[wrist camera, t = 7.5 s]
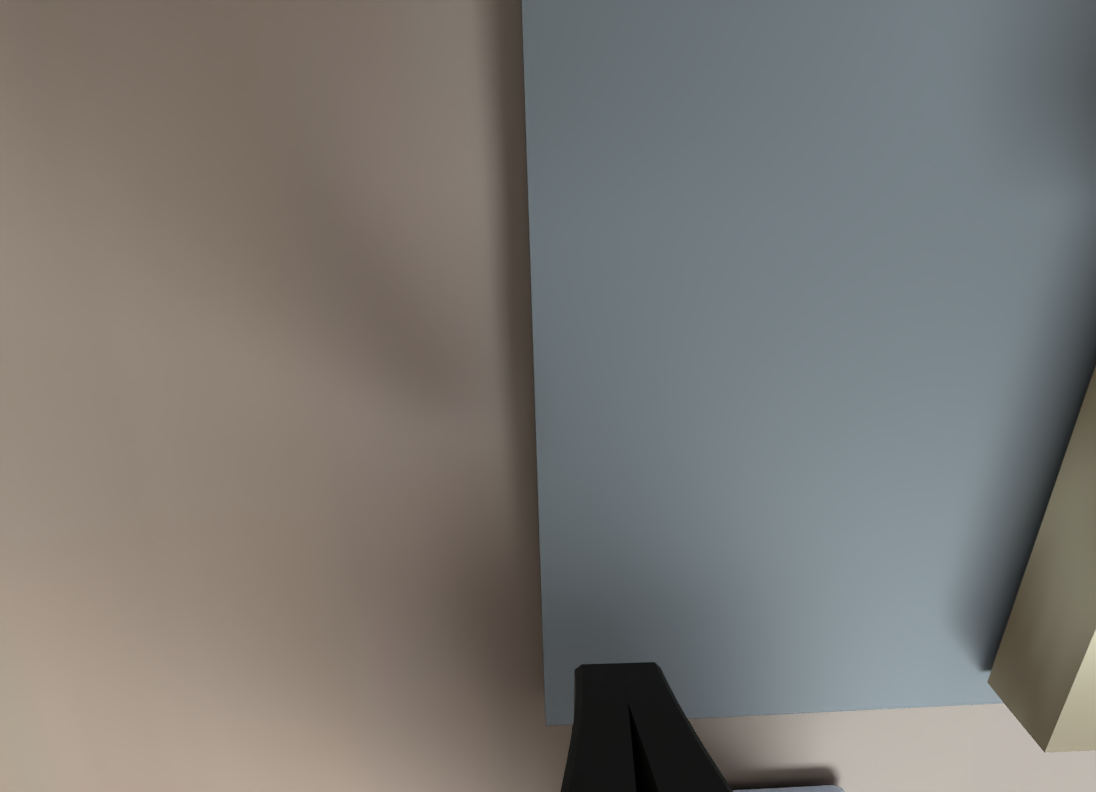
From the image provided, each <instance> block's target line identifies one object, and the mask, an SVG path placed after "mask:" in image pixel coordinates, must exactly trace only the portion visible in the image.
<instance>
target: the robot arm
mask: <svg viewBox="0 0 1096 792" xmlns="http://www.w3.org/2000/svg"><path fill="white" fill-rule="evenodd" d="M561 792H844V790H843V789H842V788H840V787H838V786H834V785H823V786H804V787H784V788H765V789H746V790H732V789H731V787H730V786H729V784H728V783H727V781H726V780H725V778H724V777H723V775H722V774H721V772H720V771H719V769H718V767H717V766H716V764H715V763H714V761H713V760H712V758H711V757H710V755H709V754H708V752H707V750H706V749H705V747H704V746H703V744H702V742H701V741H700V739H699V737H698V736H697V734H696V732H695V731H694V729H693V727H692V726H691V724H690V722H689V720H688V719H687V717H686V715H685V714H684V712H683V710H682V708H681V706H680V705H679V703H678V701H677V699H676V697H675V695H674V693H673V692H672V690H671V688H670V686H669V684H668V682H667V680H666V678H665V676H664V674H663V672H662V669H661V667H660V666H658V665H657V664H656V663H655V662H640V663H608V664H581V665H580V666H579V667H577V668H576V669H575V672H574V721H573V728H572V735H571V742H570V747H569V753H568V758H567V763H566V768H565V773H564V778H563V783H562V788H561Z"/></svg>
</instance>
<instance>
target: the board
mask: <svg viewBox="0 0 1096 792" xmlns="http://www.w3.org/2000/svg"><path fill="white" fill-rule="evenodd" d="M521 4H522V34H523V64H524V94H525V124H526V153H527V183H528V213H529V243H530V273H531V303H532V333H533V363H534V393H535V423H536V453H537V483H538V513H539V543H540V572H541V602H542V632H543V662H544V692H545V717H546V726H549V725H569V724H573V721H574V672H575V669H576V668H577V667H579V666H580V665H581V664H608V663H640V662H655V663H656V664H657V665H658V666H660V667H661V669H662V672H663V674H664V676H665V678H666V680H667V682H668V684H669V686H670V688H671V690H672V692H673V693H674V695H675V697H676V699H677V701H678V703H679V705H680V706H681V708H682V710H683V712H684V714H685V715H686V717H687V719H692V718H712V717H732V716H753V715H773V714H793V713H814V712H834V711H855V710H875V709H895V708H916V707H936V706H956V705H977V704H997V703H1004V702H1003V701H1002V700H1001V699H1000V698H999V696H998V695H997V694H996V693H995V691H994V690H993V689H992V688H991V687H990V685H989V684H988V683H987V681H988V679H989V676H990V673H991V670H992V667H993V664H994V661H995V658H996V655H997V652H998V649H999V646H1000V643H1001V641H1002V638H1003V635H1004V632H1005V629H1006V626H1007V623H1008V620H1009V617H1010V614H1011V611H1012V608H1013V605H1014V603H1015V600H1016V597H1017V594H1018V591H1019V588H1020V585H1021V582H1022V579H1023V576H1024V573H1025V570H1026V567H1027V565H1028V562H1029V559H1030V556H1031V553H1032V550H1033V547H1034V544H1035V541H1036V538H1037V535H1038V532H1039V529H1040V527H1041V524H1042V521H1043V518H1044V515H1045V512H1046V509H1047V506H1048V503H1049V500H1050V497H1051V494H1052V491H1053V489H1054V486H1055V483H1056V480H1057V477H1058V474H1059V471H1060V468H1061V465H1062V462H1063V459H1064V456H1065V454H1066V451H1067V448H1068V445H1069V442H1070V439H1071V436H1072V433H1073V430H1074V427H1075V424H1076V421H1077V418H1078V416H1079V413H1080V410H1081V407H1082V404H1083V401H1084V398H1085V395H1086V392H1087V389H1088V386H1089V383H1090V380H1091V378H1092V375H1093V372H1094V369H1095V366H1096V0H521Z"/></svg>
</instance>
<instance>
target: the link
mask: <svg viewBox="0 0 1096 792" xmlns="http://www.w3.org/2000/svg"><path fill="white" fill-rule="evenodd" d="M987 683H988V684H989V685H990V687H991V688H992V689H993V690H994V691H995V693H996V694H997V695H998V696H999V698H1000V699H1001V700H1002V701H1003V702H1004V704H1005V705H1006V706H1007V707H1008V708H1009V710H1010V711H1011V712H1012V713H1013V715H1014V716H1015V717H1016V718H1017V719H1018V721H1019V722H1020V723H1021V724H1022V726H1023V727H1024V728H1025V729H1026V730H1027V732H1028V733H1029V734H1030V735H1031V736H1032V738H1033V739H1034V740H1035V741H1036V743H1037V744H1038V745H1039V746H1040V747H1041V749H1042V750H1043V751H1044V752H1045V753H1046V752H1067V751H1089V750H1096V366H1095V369H1094V372H1093V375H1092V378H1091V380H1090V383H1089V386H1088V389H1087V392H1086V395H1085V398H1084V401H1083V404H1082V407H1081V410H1080V413H1079V416H1078V418H1077V421H1076V424H1075V427H1074V430H1073V433H1072V436H1071V439H1070V442H1069V445H1068V448H1067V451H1066V454H1065V456H1064V459H1063V462H1062V465H1061V468H1060V471H1059V474H1058V477H1057V480H1056V483H1055V486H1054V489H1053V491H1052V494H1051V497H1050V500H1049V503H1048V506H1047V509H1046V512H1045V515H1044V518H1043V521H1042V524H1041V527H1040V529H1039V532H1038V535H1037V538H1036V541H1035V544H1034V547H1033V550H1032V553H1031V556H1030V559H1029V562H1028V565H1027V567H1026V570H1025V573H1024V576H1023V579H1022V582H1021V585H1020V588H1019V591H1018V594H1017V597H1016V600H1015V603H1014V605H1013V608H1012V611H1011V614H1010V617H1009V620H1008V623H1007V626H1006V629H1005V632H1004V635H1003V638H1002V641H1001V643H1000V646H999V649H998V652H997V655H996V658H995V661H994V664H993V667H992V670H991V673H990V676H989V679H988V681H987Z"/></svg>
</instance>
